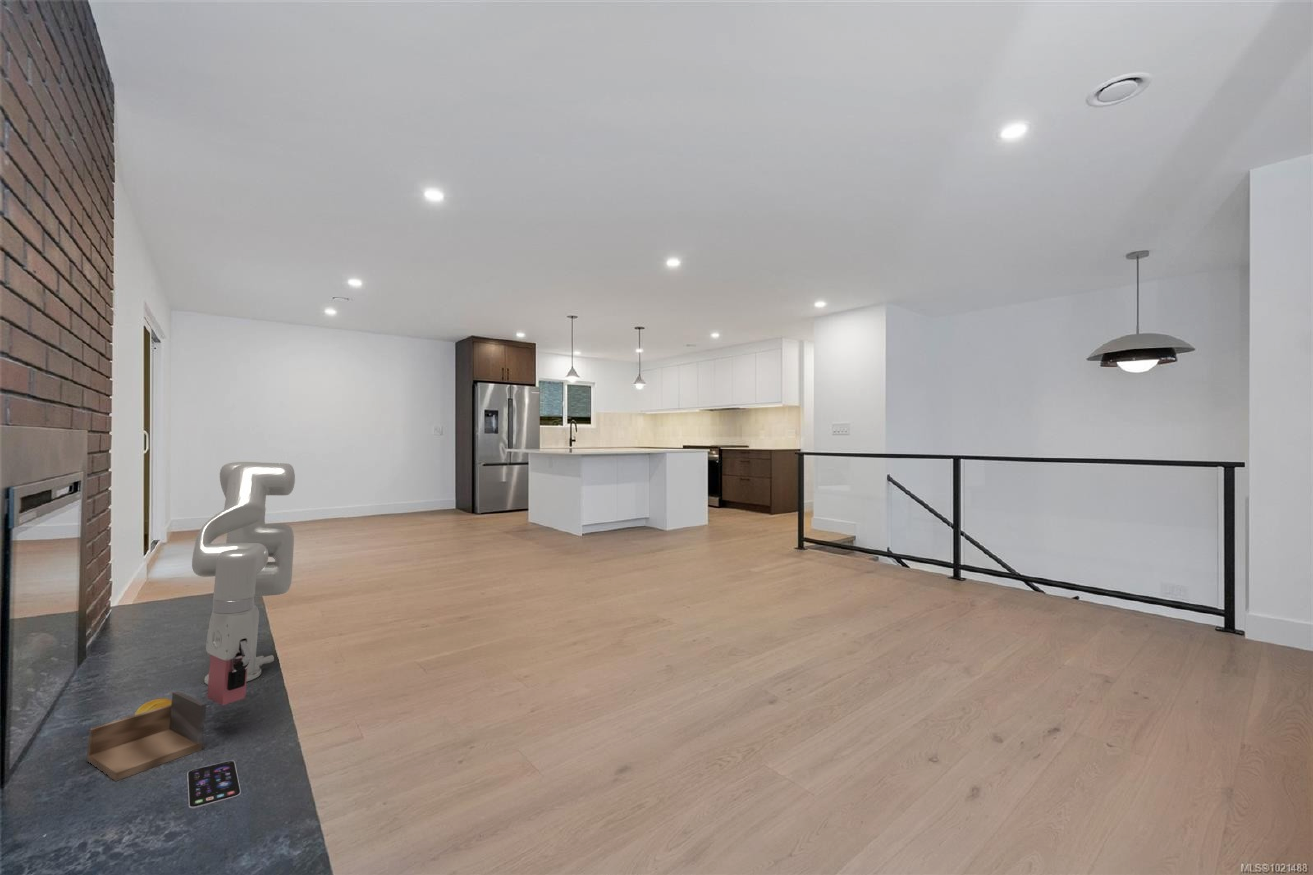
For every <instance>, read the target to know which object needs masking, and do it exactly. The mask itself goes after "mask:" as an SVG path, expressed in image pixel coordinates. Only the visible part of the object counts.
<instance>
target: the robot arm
mask: <svg viewBox="0 0 1313 875" xmlns="http://www.w3.org/2000/svg"><path fill="white" fill-rule="evenodd" d="M295 474H296V473H295V469H294V467H293V466H292V464H289V463H284V462H282V463H281V462H280V463H279V462H259V461H234V462H233V461H232V462H229V463H226V464H224V465H223V466H221V468H220V471H219V482H220V486H221V489H222V492H223V496H224V498H225V500H224V506H223V509H222V510H221V511H219V512H218V513H217V514H215V515H214V516H212V517H211V518H210V519H209V520H208V521H206V522H205V524H204V525H202V527H201V528H200V530H199V531H198V533H197V534H196V535H197V536H196V538H195V542H194V548H193V554H192V558H191V567H192V569H191V570H192V572H193V573H194V574H195V575H197V576H199V577H203V578H205V577H206V578H207V577H211V578H213V577H214V584H213V588H214V589H213V597H212V598H213V599H212V611H211V612H212V613H211V614H210V615H211V616H210V618H209V619H210V620H209V623H208V630H207V636H206V642H205V643H206V644H205V651H206V653H207V654H208V655H210V654H211V655H213V656H215V657H217V658H219V659H222V660H224V661H229V660H231V662H230V667H231V672H229V675H228V688H227V689H228V690H233V689H236V688H240V687H243V686H244V685H245V675H246V669H247V680H246V683H247V682H251V681H253V680H255V679H256V678H258V677H259V676H260V675H261V674H262V668H261V667H262V666H263V665H265V664H270V663H272V662H274V661H275V657H274V655H273V654H271V655H267V656H264V655H259V656H256V655H257V647H258V646H257V645H258V635H259V634H258V632H259V623H260V622H259V620H260V611H259V608H258V606H256V604H255V597H257V598H258V597H267V596H268V597H269V596H278V595H279V596H280V595H284V594H285V593H287V592H288V591H289V590H290V588H291V585H292V580H293V567H294V566H293V565H294V564H293V562H294V548H295V547H294V546H295V540H294V539H295V536H294V534H295V533H294V530H293V528H292V527H291V526H290V525H288V524H287V523H286V524H285V523H266V521H265V520H266V510H267V508H266V500H267V496H289V495H290V494H291V493H292V492H293V490H294V489H295V483H296V475H295ZM224 534H226V541H225V542H226V543H223V542H222V543H213V541H215V540H216V539H217V538H218V537H221V536H222V535H224ZM269 558H272V559H273V560H274V561H269ZM239 653H241V656H237V657H235V656H236V654H239ZM241 658H242V659H241ZM237 659H241V661H239V662H238V663H237V664H236V663H235V660H237ZM247 665H248V668H247ZM208 680H209V673H207V675H205V676H204V683H205V684H206V685H208Z"/></svg>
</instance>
